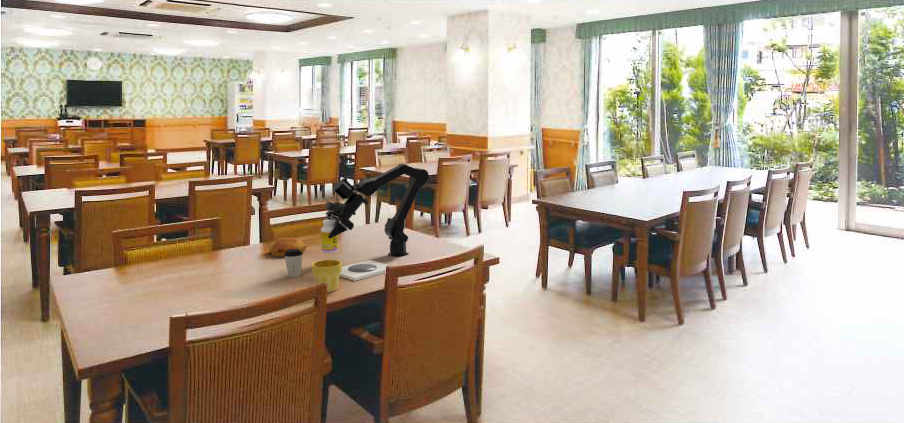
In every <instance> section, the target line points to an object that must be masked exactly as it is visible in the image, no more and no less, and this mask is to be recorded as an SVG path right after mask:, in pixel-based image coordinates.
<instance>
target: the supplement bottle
mask: <svg viewBox="0 0 904 423" xmlns="http://www.w3.org/2000/svg"><path fill="white" fill-rule="evenodd" d="M322 224H323V226H322V227H321V228H320V241H321V242H320V244H321V252H322V254H335V253H337V252H338V251H339V236H338V235H339V234H338V235H336V236H334V237H332V238H329V237H328V236H329V234H330V233H331V231H332V230H333V228H334V224H335V220H327V219H324V220H323V221H322Z"/></svg>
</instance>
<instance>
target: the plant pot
mask: <svg viewBox="0 0 904 423" xmlns="http://www.w3.org/2000/svg"><path fill="white" fill-rule="evenodd" d="M342 267H343V264H342V261H341V260H339V259H320V260H317V261H314V262H312V263H311V273H312V274H313V276H314V278H315V282H316V285H317V284H318V283H321V282H326V283H327V284H328V291H333V292H335V290H336V291H337V290H338V289H339V283H340V282H339V281H340V278H341V277H340V273H341V272H342Z"/></svg>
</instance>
